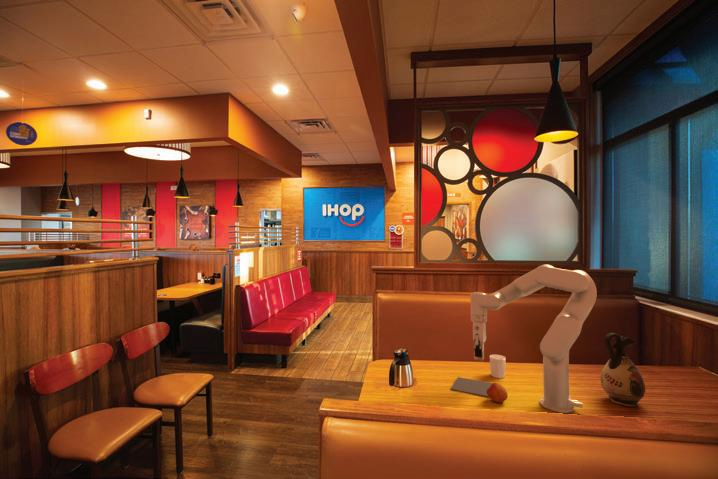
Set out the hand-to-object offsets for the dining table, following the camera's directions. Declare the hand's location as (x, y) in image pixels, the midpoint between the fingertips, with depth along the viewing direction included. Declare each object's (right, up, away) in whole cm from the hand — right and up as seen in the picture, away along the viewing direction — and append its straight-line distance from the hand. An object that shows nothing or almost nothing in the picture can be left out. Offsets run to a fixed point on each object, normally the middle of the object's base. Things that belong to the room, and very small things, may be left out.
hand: (479, 355), depth 162 cm
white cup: (+15, -16, +14) cm, 26 cm away
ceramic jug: (+57, -15, -16) cm, 61 cm away
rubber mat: (-3, -16, 0) cm, 16 cm away
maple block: (0, -2, 0) cm, 2 cm away
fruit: (+3, -16, -14) cm, 22 cm away
